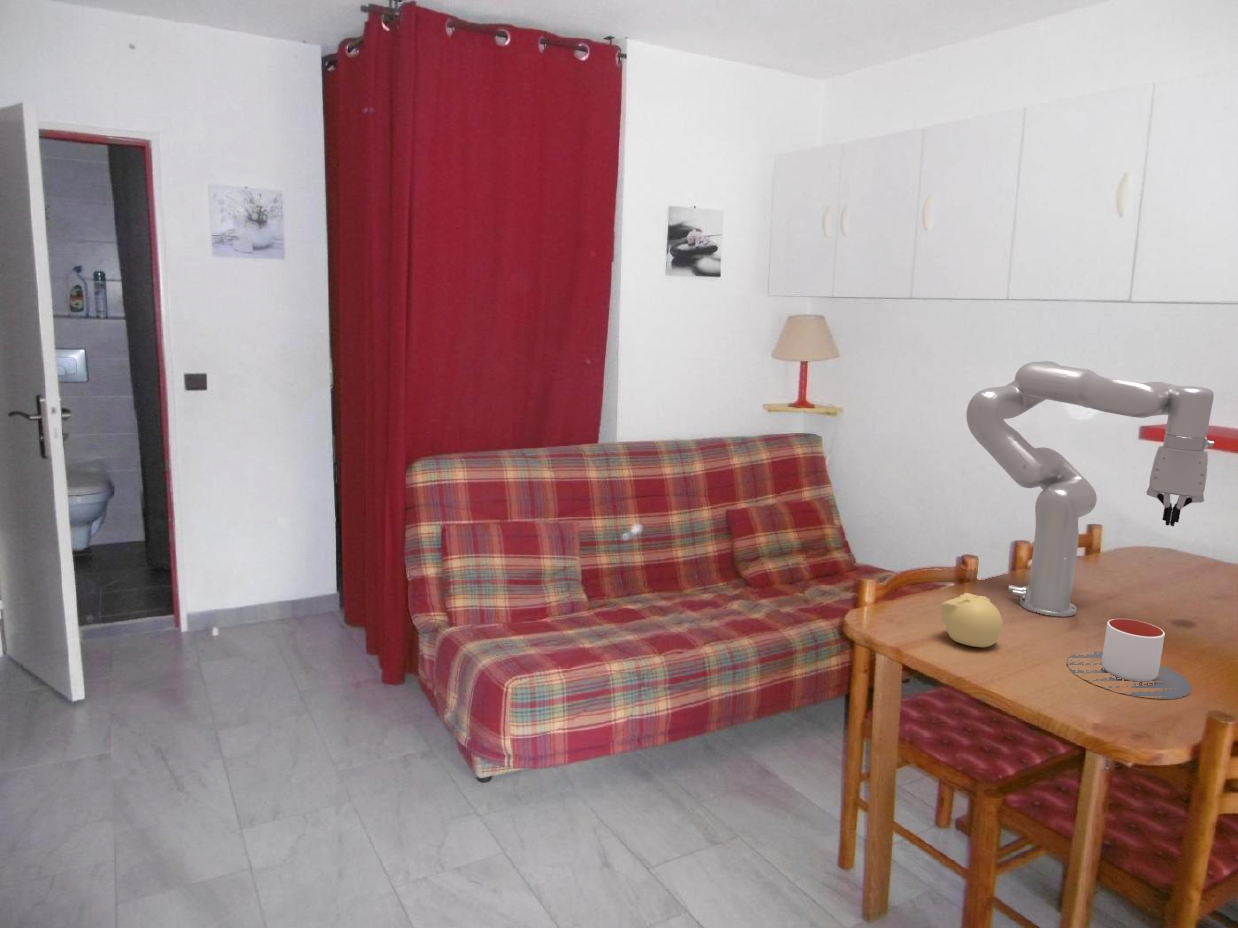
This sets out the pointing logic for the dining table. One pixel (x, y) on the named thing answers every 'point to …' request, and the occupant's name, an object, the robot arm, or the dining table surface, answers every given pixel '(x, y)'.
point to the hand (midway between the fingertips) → (1169, 524)
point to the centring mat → (1172, 678)
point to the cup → (1132, 650)
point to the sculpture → (972, 620)
